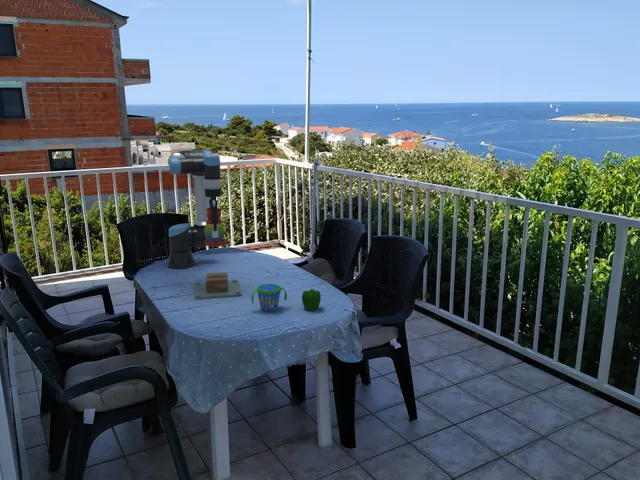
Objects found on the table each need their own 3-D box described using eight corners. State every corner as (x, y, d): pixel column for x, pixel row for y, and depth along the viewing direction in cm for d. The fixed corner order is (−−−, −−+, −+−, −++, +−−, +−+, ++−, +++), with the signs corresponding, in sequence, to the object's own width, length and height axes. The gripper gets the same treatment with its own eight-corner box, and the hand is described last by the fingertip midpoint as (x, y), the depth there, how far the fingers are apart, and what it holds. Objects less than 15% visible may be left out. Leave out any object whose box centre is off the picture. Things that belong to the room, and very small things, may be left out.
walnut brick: (207, 284, 259) (206, 273, 258) (227, 283, 261) (227, 272, 260) (206, 293, 247) (206, 281, 245) (228, 292, 248) (227, 280, 247)
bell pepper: (302, 305, 234) (302, 284, 232) (320, 305, 234) (320, 284, 231) (301, 312, 226) (301, 290, 223) (320, 312, 225) (320, 290, 223)
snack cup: (285, 303, 236) (284, 282, 234) (288, 311, 226) (288, 289, 224) (250, 306, 233) (249, 284, 230) (252, 314, 223) (252, 292, 220)
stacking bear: (229, 242, 254) (227, 206, 249) (223, 247, 244) (221, 209, 240) (207, 241, 255) (205, 205, 250) (200, 246, 245) (198, 209, 241)
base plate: (194, 285, 262) (194, 281, 261) (238, 282, 267) (238, 278, 266) (194, 299, 241) (194, 295, 241) (242, 296, 246) (242, 292, 246)
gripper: (204, 185, 252) (206, 230, 257) (205, 191, 231) (207, 240, 236) (219, 185, 254) (221, 230, 259) (222, 190, 233) (224, 239, 238)
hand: (215, 235), depth 248 cm, fingers closed on stacking bear, 9 cm apart
